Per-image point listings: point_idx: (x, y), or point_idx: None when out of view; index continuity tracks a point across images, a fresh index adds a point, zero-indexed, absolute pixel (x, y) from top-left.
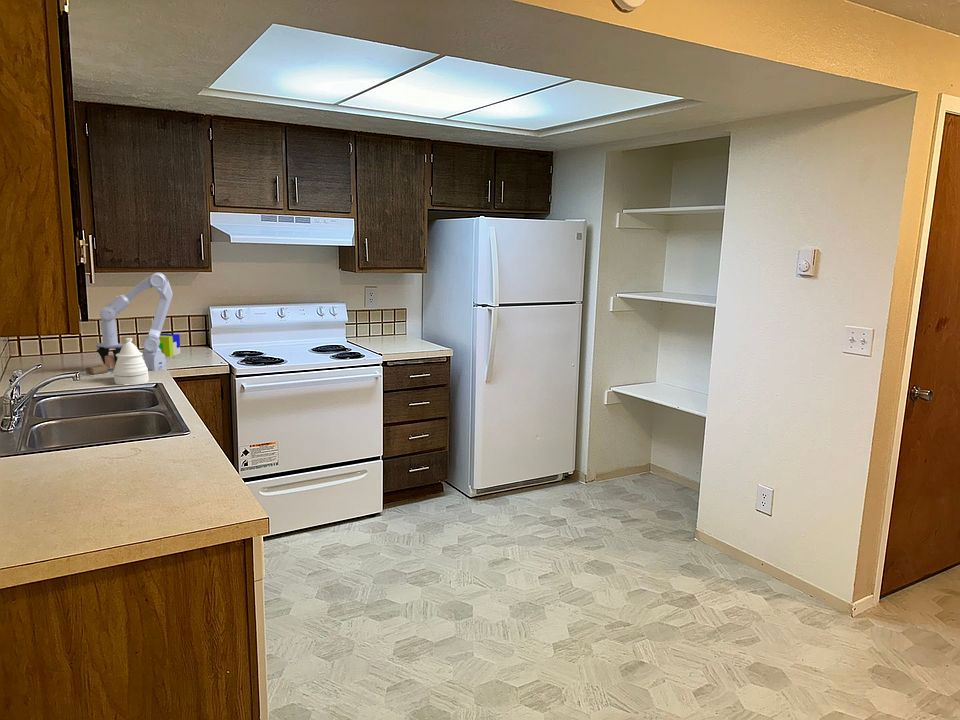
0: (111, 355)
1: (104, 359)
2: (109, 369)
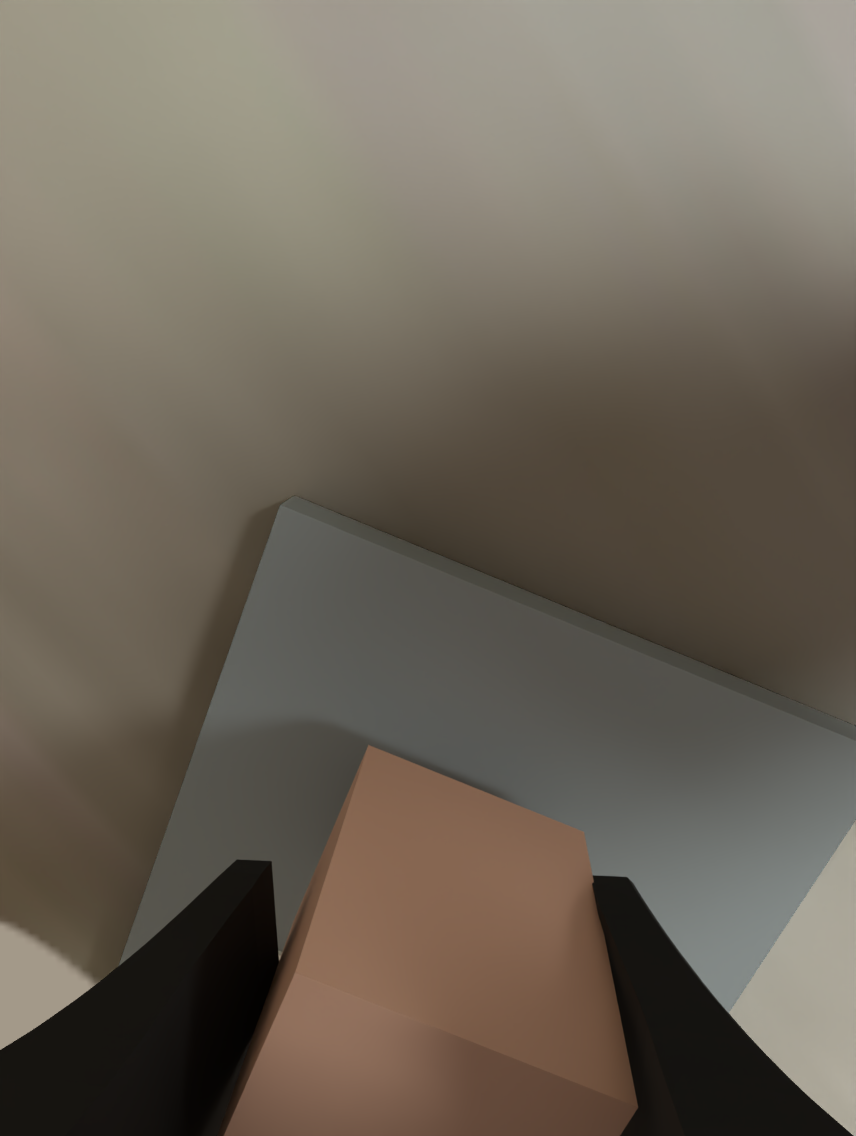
0: (360, 1117)
1: (224, 1088)
2: (341, 802)
